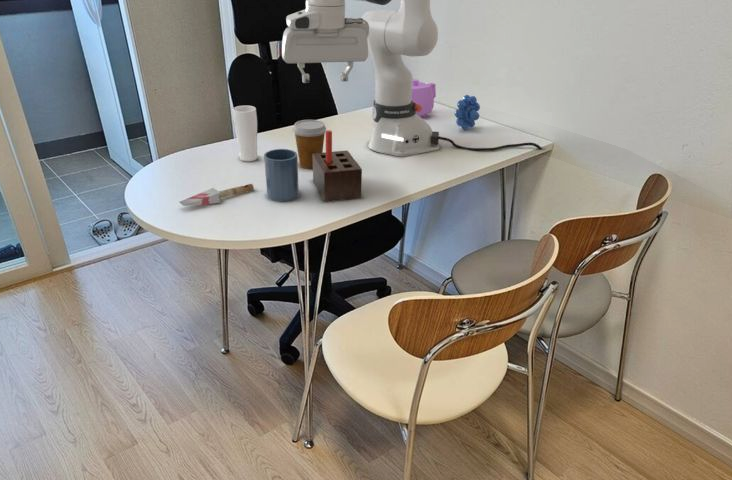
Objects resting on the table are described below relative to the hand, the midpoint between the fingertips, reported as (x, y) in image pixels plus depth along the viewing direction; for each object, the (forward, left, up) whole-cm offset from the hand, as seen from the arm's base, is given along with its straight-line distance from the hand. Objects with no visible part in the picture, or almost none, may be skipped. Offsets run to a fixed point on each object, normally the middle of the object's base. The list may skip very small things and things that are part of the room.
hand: (325, 81), depth 134 cm
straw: (-1, +1, -28) cm, 28 cm away
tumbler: (+12, +1, -28) cm, 30 cm away
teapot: (-46, -57, -28) cm, 78 cm away
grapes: (-59, -36, -28) cm, 74 cm away
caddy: (-3, +1, -28) cm, 28 cm away
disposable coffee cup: (0, -18, -28) cm, 34 cm away
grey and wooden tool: (+28, 0, -28) cm, 40 cm away
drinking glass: (+17, -27, -28) cm, 43 cm away
